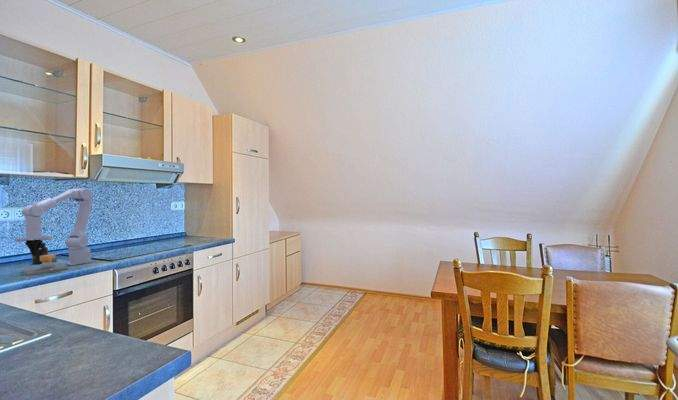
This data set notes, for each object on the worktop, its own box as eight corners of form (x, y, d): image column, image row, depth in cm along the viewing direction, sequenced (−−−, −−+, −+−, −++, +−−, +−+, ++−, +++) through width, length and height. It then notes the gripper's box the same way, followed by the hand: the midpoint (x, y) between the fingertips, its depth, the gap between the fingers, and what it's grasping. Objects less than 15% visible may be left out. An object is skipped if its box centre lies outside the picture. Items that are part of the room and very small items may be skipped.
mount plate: (59, 266, 173) (59, 257, 173) (67, 269, 165) (66, 260, 165) (21, 272, 161) (21, 262, 161) (27, 276, 153) (27, 266, 152)
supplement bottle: (29, 265, 177) (28, 244, 177) (37, 262, 183) (36, 242, 183) (43, 264, 179) (42, 243, 178) (51, 261, 185) (50, 241, 185)
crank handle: (38, 260, 163) (38, 255, 163) (53, 258, 169) (52, 253, 168) (47, 263, 156) (47, 258, 156) (62, 261, 161) (62, 256, 161)
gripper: (10, 230, 152) (11, 257, 153) (47, 228, 157) (48, 255, 158) (18, 228, 159) (20, 254, 159) (54, 227, 164) (55, 252, 164)
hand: (34, 254), depth 159 cm, fingers closed
